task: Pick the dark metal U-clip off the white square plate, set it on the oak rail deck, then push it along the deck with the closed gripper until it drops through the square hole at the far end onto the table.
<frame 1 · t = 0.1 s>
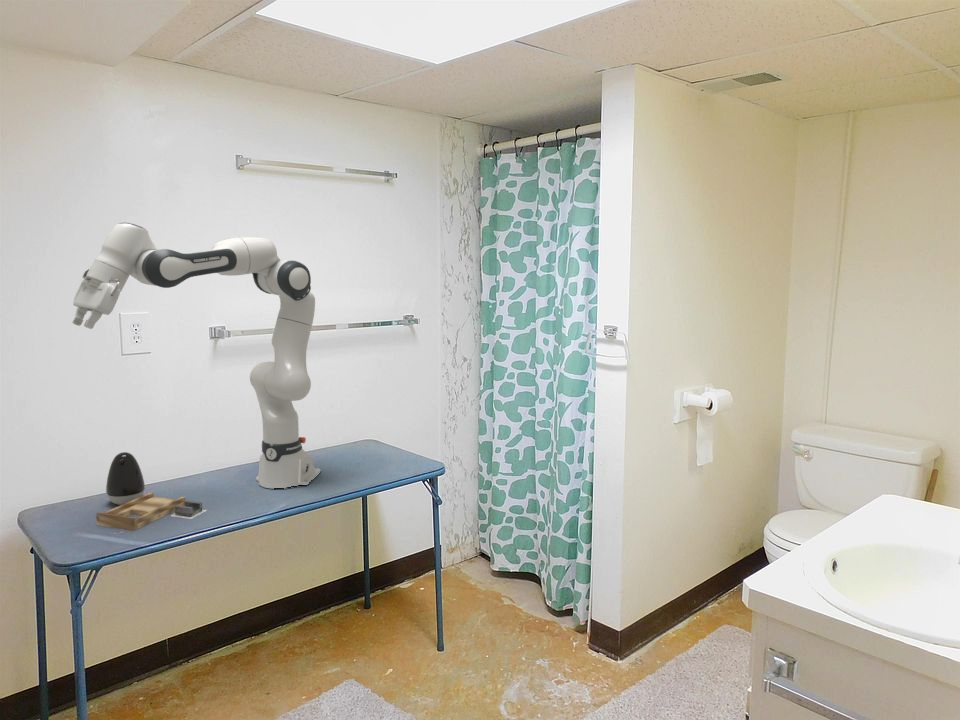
hand: (81, 326, 180), 54 cm above the table, tool tilted 30°, fingers open, 8 cm apart
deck: (143, 518, 195), on the table
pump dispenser: (126, 503, 207), on the table
white square plate: (189, 517, 197), on the table
clip: (188, 513, 196), point 1 cm above the table, touching white square plate
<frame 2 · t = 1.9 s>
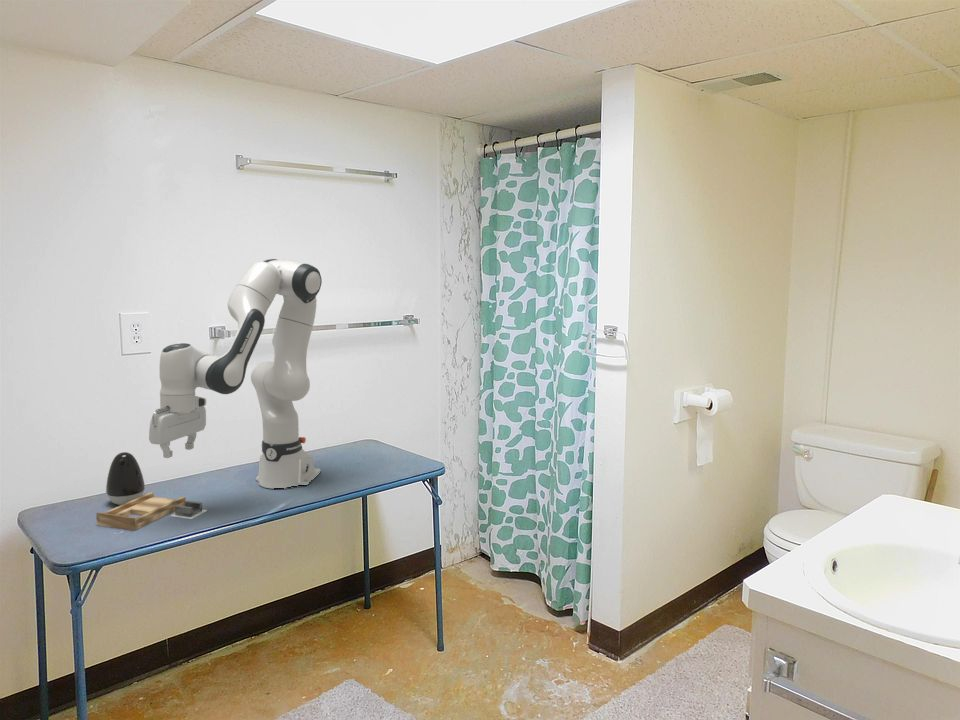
hand: (179, 453, 192), 19 cm above the table, tool pointing down, fingers open, 8 cm apart
nothing on the table moved.
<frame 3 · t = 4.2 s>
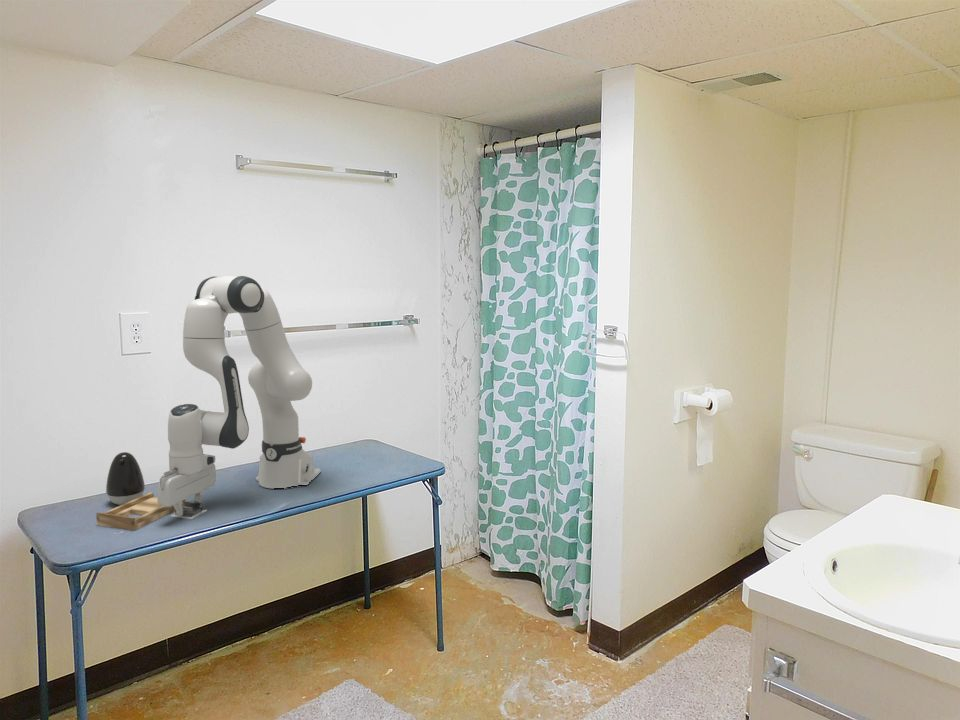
hand: (188, 511, 196), 2 cm above the table, tool pointing down, fingers closed on clip, 5 cm apart
clip: (188, 513, 196), point 1 cm above the table, touching gripper, white square plate
everything else where it was.
when the fingers open (4 cm above the table, at t = 8.4 s): clip drops 1 cm, resting on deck.
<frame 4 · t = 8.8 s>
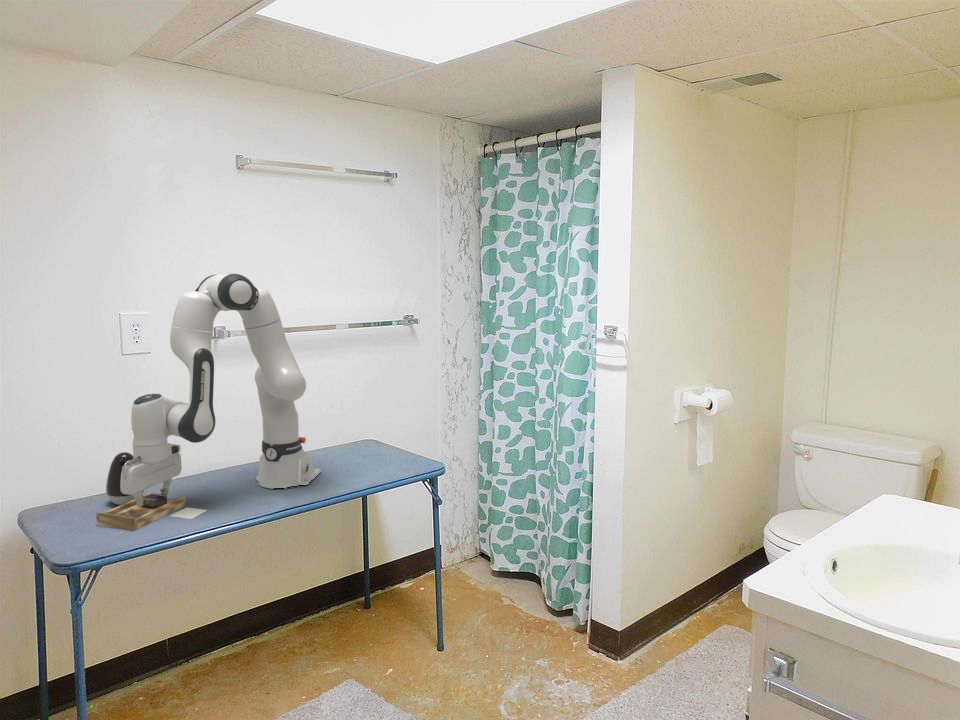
hand: (153, 499, 198), 4 cm above the table, tool pointing down, fingers open, 8 cm apart
clip: (153, 505, 198), point 2 cm above the table, touching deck
everything else where it was.
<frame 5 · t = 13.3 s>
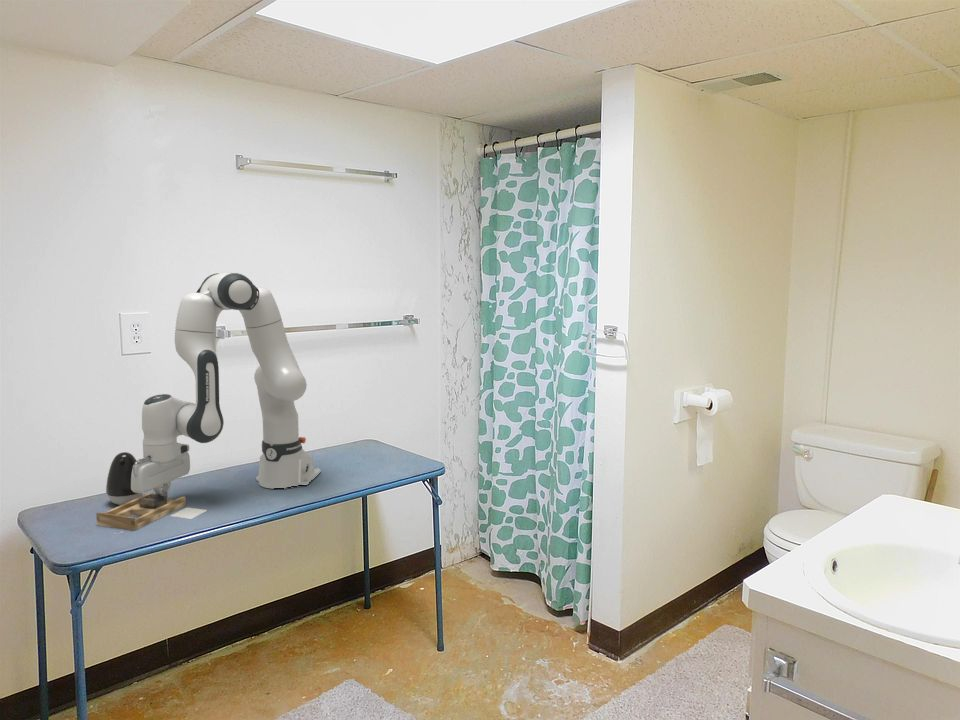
hand: (162, 498, 202), 3 cm above the table, tool pointing down, fingers closed
clip: (153, 505, 198), point 3 cm above the table, touching gripper
everything else where it was.
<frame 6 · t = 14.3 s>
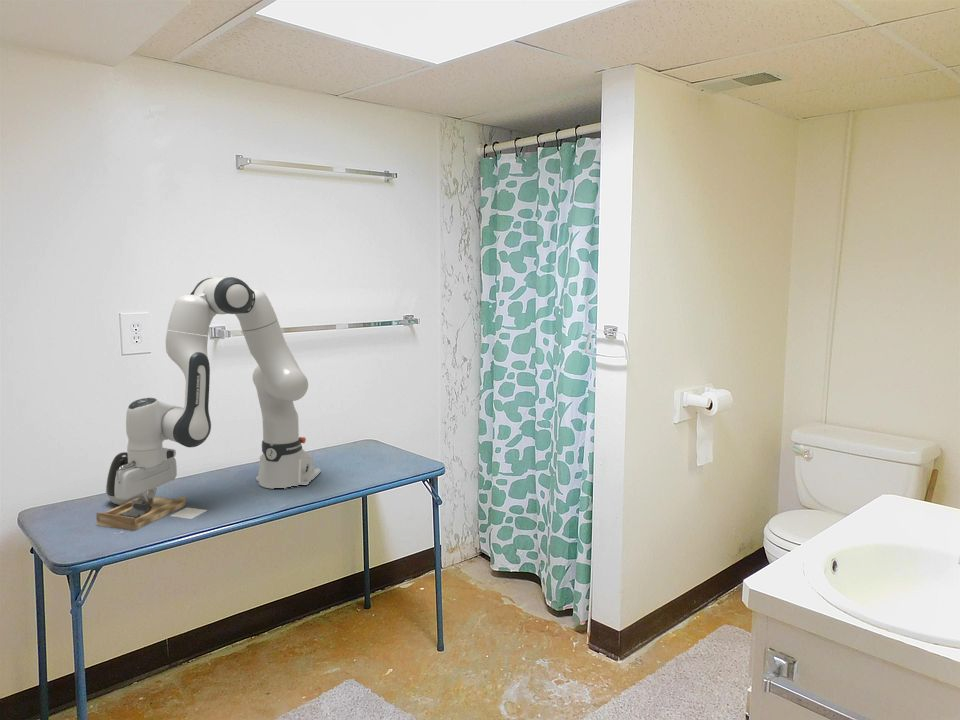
hand: (147, 504, 196), 3 cm above the table, tool pointing down, fingers closed
clip: (138, 514, 193), point 2 cm above the table, tilted 32°, touching gripper
everything else where it was.
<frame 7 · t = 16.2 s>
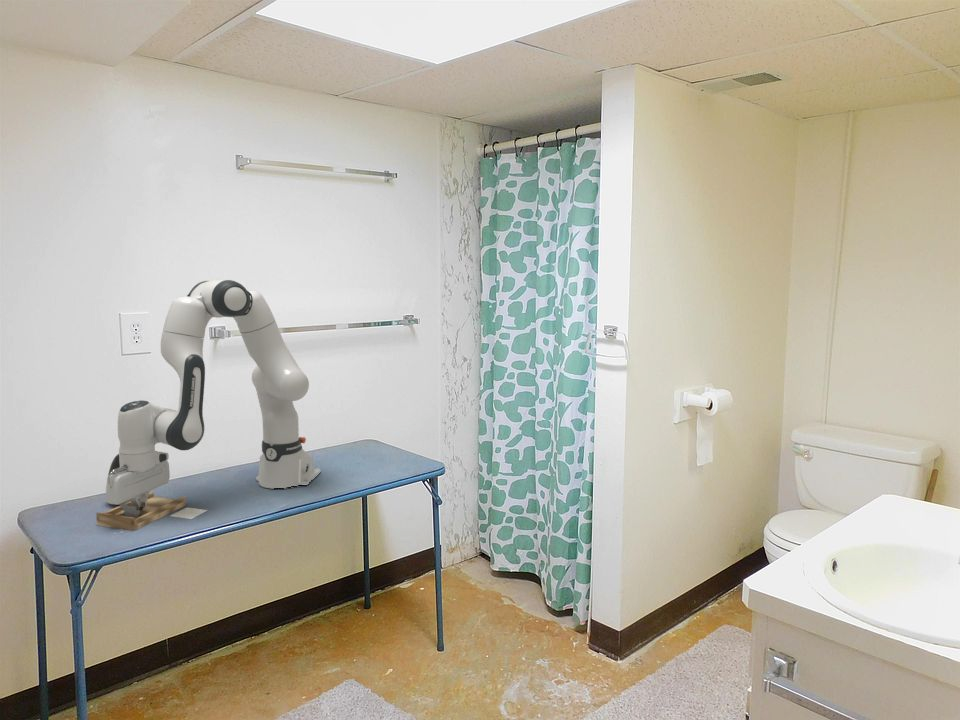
hand: (140, 509, 193), 3 cm above the table, tool pointing down, fingers closed
clip: (133, 515, 191), point 2 cm above the table, tilted 68°, touching gripper
everything else where it was.
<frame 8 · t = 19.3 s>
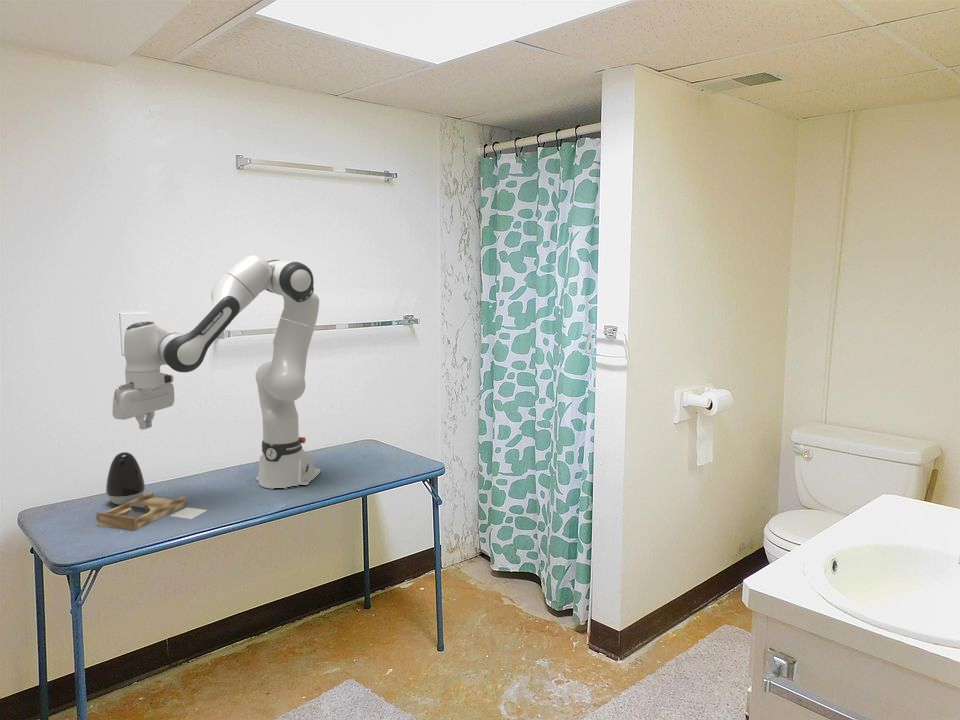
hand: (145, 428, 198), 24 cm above the table, tool pointing down, fingers closed
clip: (137, 516, 193), point 1 cm above the table, tilted 36°, touching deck
everything else where it was.
at the end: clip inside the target area (3.0 cm from its centre), point 1.4 cm above the table; clip touching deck, table; the gripper is holding nothing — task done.
